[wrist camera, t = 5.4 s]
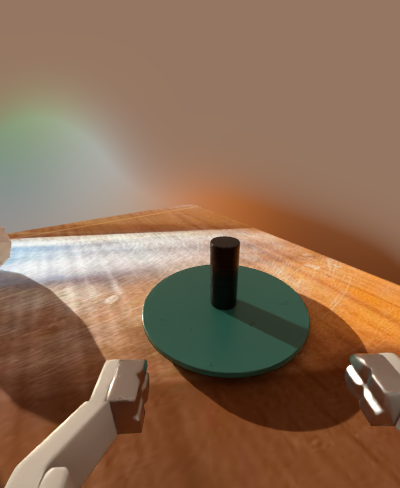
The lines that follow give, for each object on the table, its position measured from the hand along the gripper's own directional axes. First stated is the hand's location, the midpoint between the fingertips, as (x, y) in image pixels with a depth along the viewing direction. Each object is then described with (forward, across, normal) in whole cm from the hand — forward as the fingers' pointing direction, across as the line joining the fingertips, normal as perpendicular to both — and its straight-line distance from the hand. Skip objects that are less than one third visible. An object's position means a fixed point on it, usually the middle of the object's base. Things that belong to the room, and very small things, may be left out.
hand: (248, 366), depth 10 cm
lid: (+11, 0, +6) cm, 13 cm away
